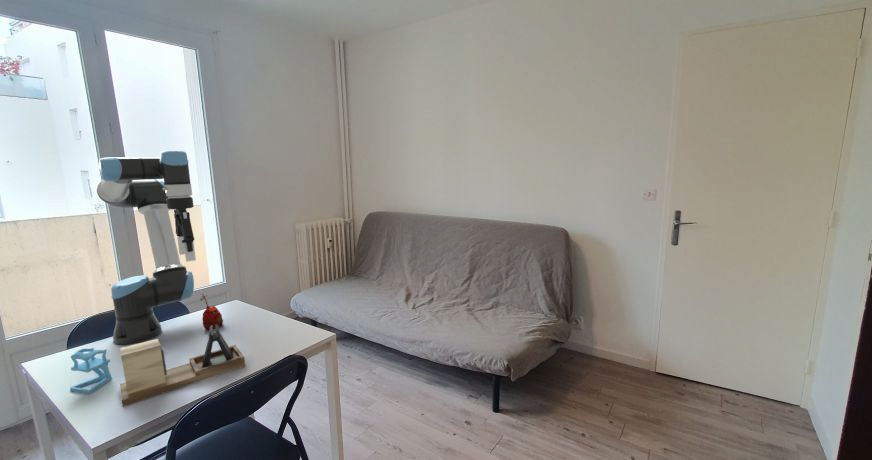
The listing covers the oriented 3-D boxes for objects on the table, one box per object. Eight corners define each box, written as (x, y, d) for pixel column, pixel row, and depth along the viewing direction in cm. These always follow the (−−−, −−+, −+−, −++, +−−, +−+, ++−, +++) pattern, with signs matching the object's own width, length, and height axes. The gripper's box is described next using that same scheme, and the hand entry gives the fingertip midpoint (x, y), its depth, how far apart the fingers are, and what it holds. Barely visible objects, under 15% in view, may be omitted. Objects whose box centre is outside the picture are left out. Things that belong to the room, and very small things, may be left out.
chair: (118, 378, 121) (112, 343, 119) (89, 393, 113) (82, 356, 111) (99, 376, 123) (93, 341, 121) (69, 390, 115) (62, 353, 113)
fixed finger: (126, 385, 114) (120, 348, 112) (165, 373, 120) (160, 337, 118) (127, 394, 109) (121, 355, 107) (168, 381, 116) (162, 344, 114)
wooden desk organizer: (120, 389, 115) (119, 379, 115) (236, 354, 136) (235, 345, 135) (122, 406, 107) (120, 395, 106) (245, 366, 128) (244, 356, 127)
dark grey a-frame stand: (201, 369, 122) (197, 334, 120) (202, 361, 127) (198, 327, 125) (233, 362, 126) (229, 328, 124) (233, 354, 132) (229, 321, 129)
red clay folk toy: (216, 331, 155) (211, 296, 152) (199, 331, 155) (194, 296, 152) (226, 323, 162) (222, 290, 160) (210, 324, 162) (205, 290, 160)
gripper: (161, 195, 137) (169, 253, 141) (171, 199, 119) (180, 266, 122) (185, 194, 142) (193, 249, 146) (199, 198, 123) (207, 261, 127)
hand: (187, 257), depth 134 cm, fingers open, 13 cm apart
